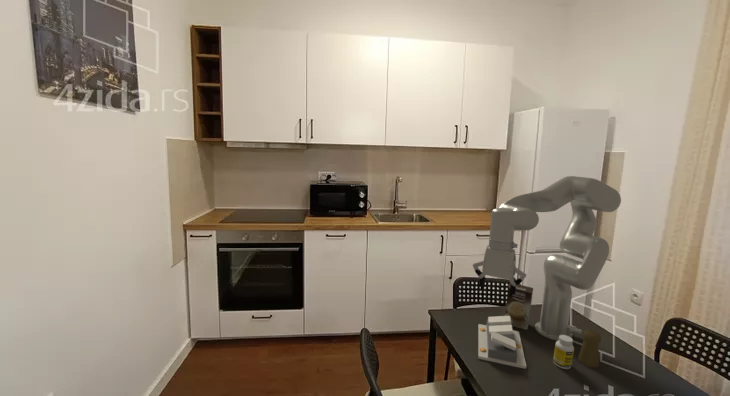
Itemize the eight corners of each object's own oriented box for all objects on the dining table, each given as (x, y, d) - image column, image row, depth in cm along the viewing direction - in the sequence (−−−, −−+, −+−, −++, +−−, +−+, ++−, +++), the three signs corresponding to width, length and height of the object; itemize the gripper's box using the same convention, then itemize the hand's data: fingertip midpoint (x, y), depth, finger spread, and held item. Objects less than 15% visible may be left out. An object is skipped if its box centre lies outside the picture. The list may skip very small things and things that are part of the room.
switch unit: (518, 333, 130) (519, 323, 130) (526, 368, 110) (527, 356, 109) (478, 326, 135) (479, 316, 134) (478, 358, 115) (479, 346, 114)
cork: (602, 368, 111) (607, 338, 109) (582, 365, 112) (586, 335, 110) (593, 357, 117) (598, 328, 115) (574, 354, 118) (579, 326, 116)
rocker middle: (512, 329, 122) (511, 324, 122) (513, 336, 118) (512, 330, 118) (489, 330, 125) (488, 325, 125) (490, 336, 121) (489, 331, 121)
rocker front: (513, 345, 116) (515, 340, 116) (514, 352, 112) (516, 347, 112) (490, 335, 118) (491, 330, 118) (490, 342, 114) (492, 337, 114)
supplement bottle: (565, 371, 109) (568, 344, 107) (549, 362, 114) (552, 335, 112) (574, 366, 112) (578, 340, 110) (559, 357, 116) (562, 331, 115)
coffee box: (503, 323, 138) (506, 287, 135) (505, 317, 143) (509, 281, 140) (527, 330, 133) (531, 293, 130) (529, 323, 138) (533, 287, 136)
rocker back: (510, 320, 129) (509, 315, 129) (511, 326, 125) (510, 321, 125) (489, 321, 132) (488, 316, 132) (489, 327, 128) (488, 322, 127)
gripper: (530, 246, 111) (525, 294, 114) (477, 237, 121) (474, 282, 124) (526, 252, 105) (521, 303, 108) (471, 242, 114) (468, 289, 117)
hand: (496, 291), depth 116 cm, fingers open, 9 cm apart
